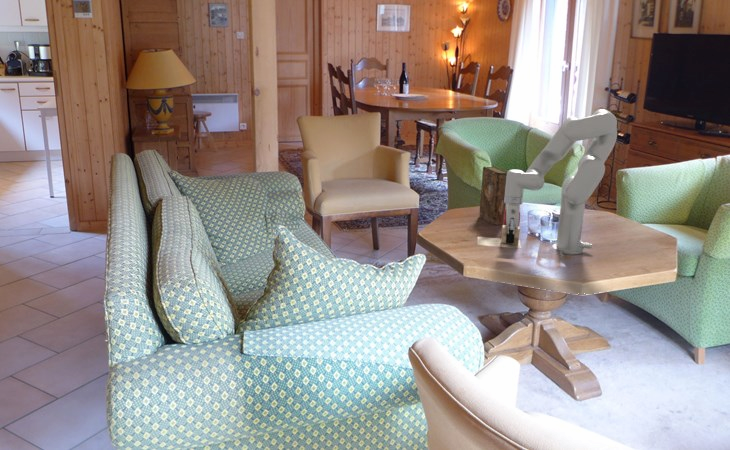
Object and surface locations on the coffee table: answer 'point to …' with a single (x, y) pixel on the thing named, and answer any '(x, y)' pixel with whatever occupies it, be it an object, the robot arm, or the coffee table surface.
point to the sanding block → (504, 234)
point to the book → (493, 195)
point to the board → (495, 242)
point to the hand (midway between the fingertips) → (509, 240)
